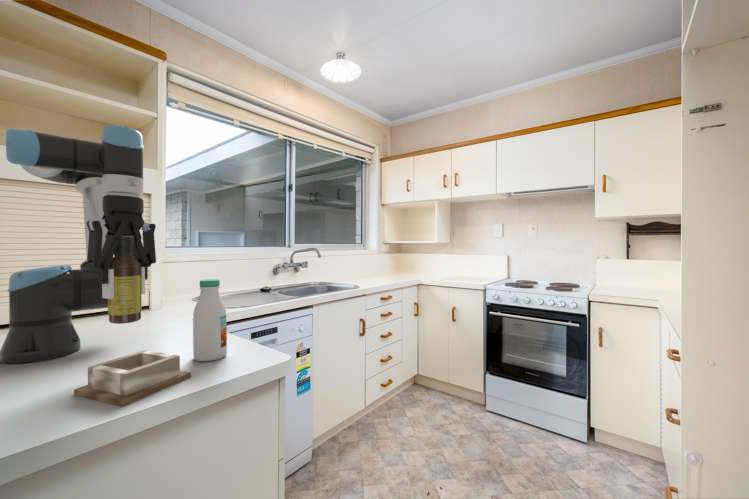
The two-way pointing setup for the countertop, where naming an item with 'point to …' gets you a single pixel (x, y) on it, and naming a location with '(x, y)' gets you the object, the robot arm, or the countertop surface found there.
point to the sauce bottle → (125, 284)
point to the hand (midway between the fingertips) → (124, 295)
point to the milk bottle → (209, 323)
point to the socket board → (132, 377)
